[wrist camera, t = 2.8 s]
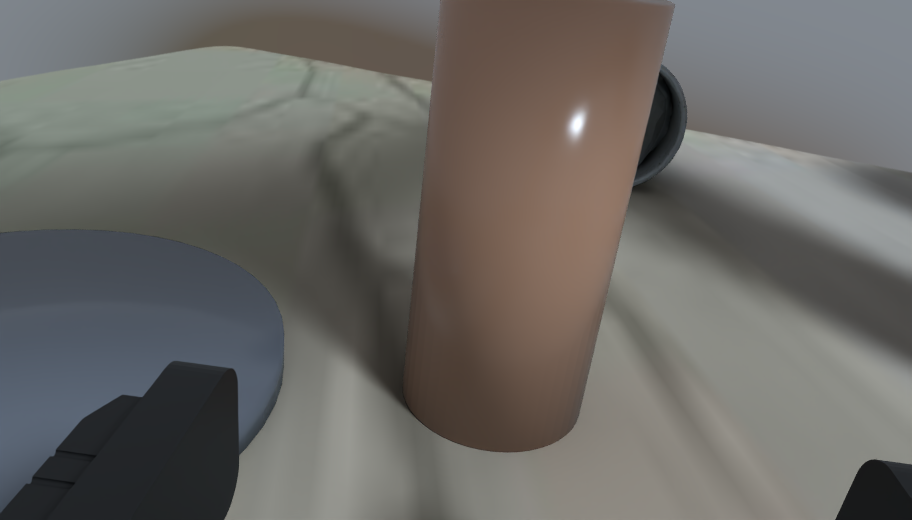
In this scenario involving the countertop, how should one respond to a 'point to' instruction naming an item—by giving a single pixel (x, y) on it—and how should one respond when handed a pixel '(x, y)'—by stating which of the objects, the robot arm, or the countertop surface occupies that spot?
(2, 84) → the countertop surface
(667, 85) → the ceramic mug
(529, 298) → the canister
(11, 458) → the slate dish
